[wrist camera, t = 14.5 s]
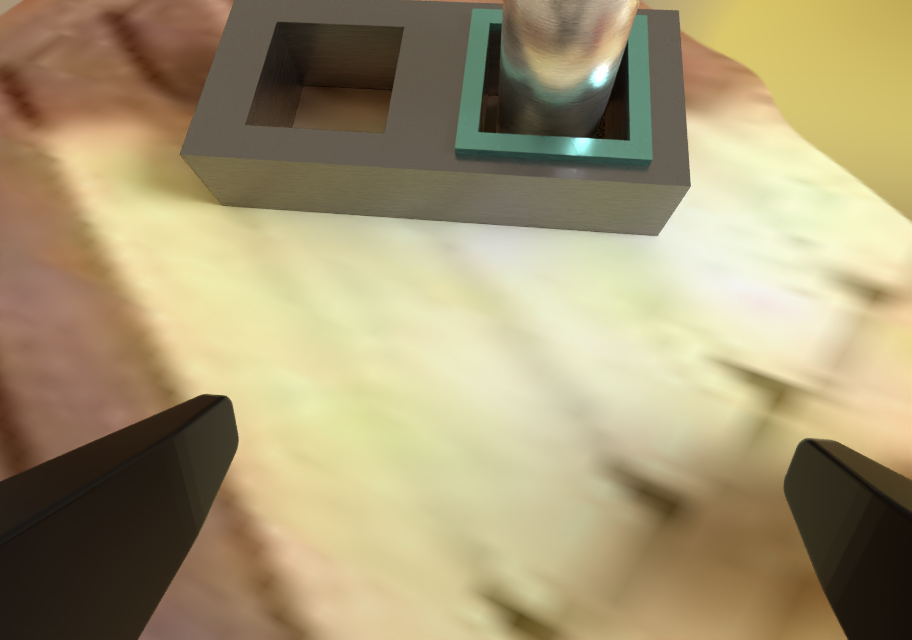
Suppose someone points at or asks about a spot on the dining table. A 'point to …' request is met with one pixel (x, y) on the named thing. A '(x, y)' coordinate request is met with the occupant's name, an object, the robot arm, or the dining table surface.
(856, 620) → the robot arm
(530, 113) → the steel sleeve
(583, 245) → the dining table surface
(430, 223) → the dining table surface
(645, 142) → the jig plate
